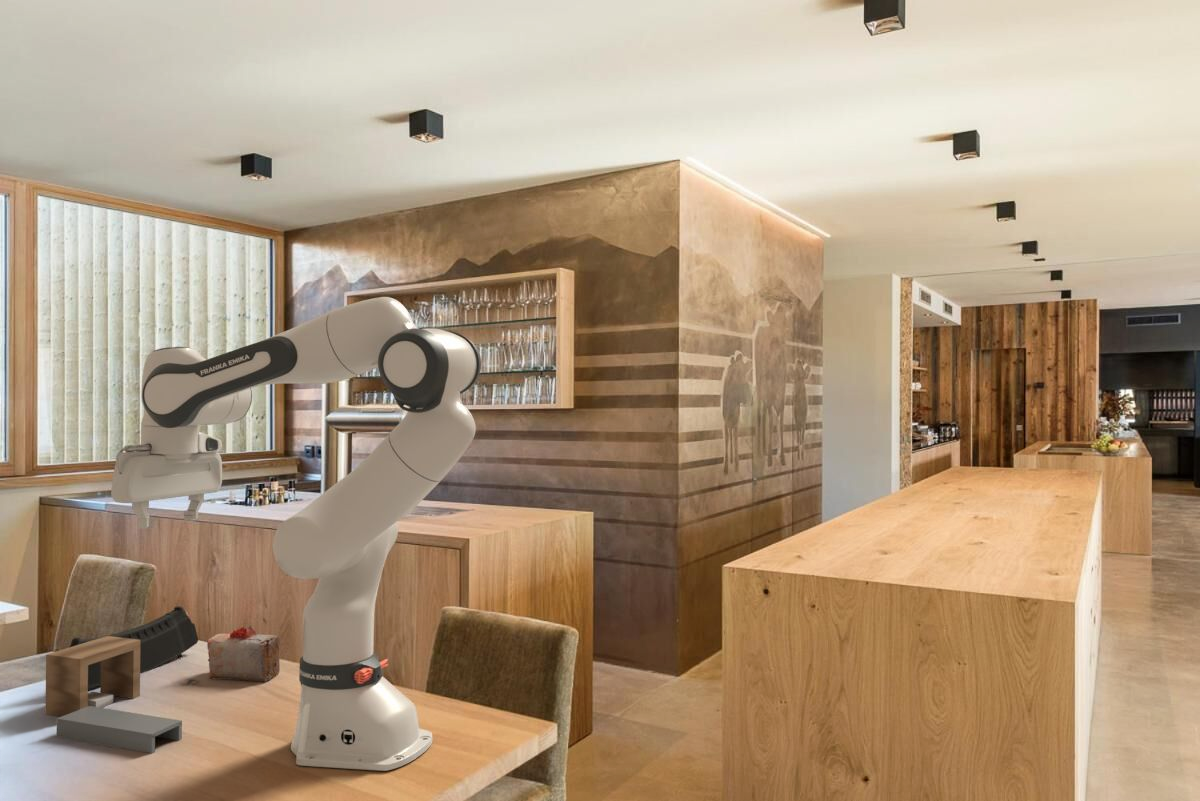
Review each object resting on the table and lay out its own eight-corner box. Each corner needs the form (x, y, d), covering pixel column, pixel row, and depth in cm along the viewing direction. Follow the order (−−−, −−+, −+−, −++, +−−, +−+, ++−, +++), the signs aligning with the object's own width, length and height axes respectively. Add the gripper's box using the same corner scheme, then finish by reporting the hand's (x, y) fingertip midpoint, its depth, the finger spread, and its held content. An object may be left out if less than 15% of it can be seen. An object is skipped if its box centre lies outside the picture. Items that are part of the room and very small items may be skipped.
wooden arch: (139, 695, 156) (140, 639, 156) (79, 719, 144) (80, 659, 144) (107, 690, 159) (107, 635, 159) (45, 714, 147) (46, 654, 147)
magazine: (56, 654, 152) (184, 576, 179) (43, 652, 153) (172, 575, 180) (80, 734, 157) (201, 646, 184) (67, 732, 158) (190, 645, 185)
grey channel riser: (181, 738, 137) (181, 720, 137) (151, 753, 131) (151, 734, 131) (89, 723, 143) (89, 705, 143) (56, 736, 137) (56, 718, 137)
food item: (200, 680, 165) (200, 631, 165) (224, 668, 173) (225, 620, 173) (263, 685, 163) (264, 634, 163) (285, 672, 171) (285, 624, 171)
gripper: (132, 446, 130) (131, 534, 130) (229, 441, 150) (227, 517, 150) (102, 445, 132) (100, 531, 132) (201, 440, 152) (199, 516, 152)
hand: (169, 524), depth 141 cm, fingers open, 8 cm apart
